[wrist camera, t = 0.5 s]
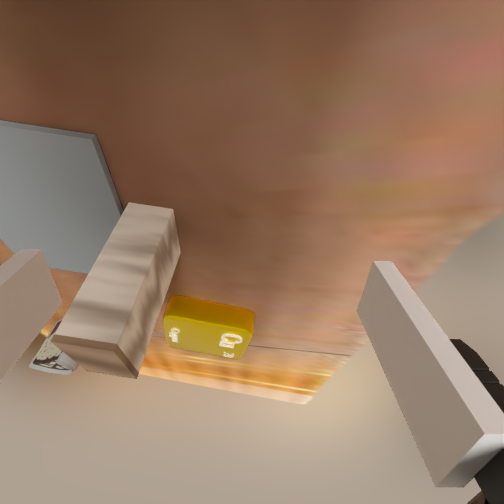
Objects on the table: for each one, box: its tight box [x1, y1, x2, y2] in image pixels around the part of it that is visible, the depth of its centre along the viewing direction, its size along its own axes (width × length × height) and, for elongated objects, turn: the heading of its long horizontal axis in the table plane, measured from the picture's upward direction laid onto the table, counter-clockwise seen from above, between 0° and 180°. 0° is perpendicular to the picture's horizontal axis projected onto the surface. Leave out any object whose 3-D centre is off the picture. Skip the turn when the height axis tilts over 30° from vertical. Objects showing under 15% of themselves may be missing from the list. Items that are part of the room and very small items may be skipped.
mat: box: [0, 120, 124, 274], centre depth 36 cm, size 24×19×1 cm
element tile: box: [163, 295, 255, 359], centre depth 53 cm, size 15×15×5 cm
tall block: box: [50, 202, 181, 379], centre depth 31 cm, size 8×5×16 cm, turn 175°
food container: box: [29, 319, 79, 374], centre depth 61 cm, size 12×6×10 cm, turn 124°
